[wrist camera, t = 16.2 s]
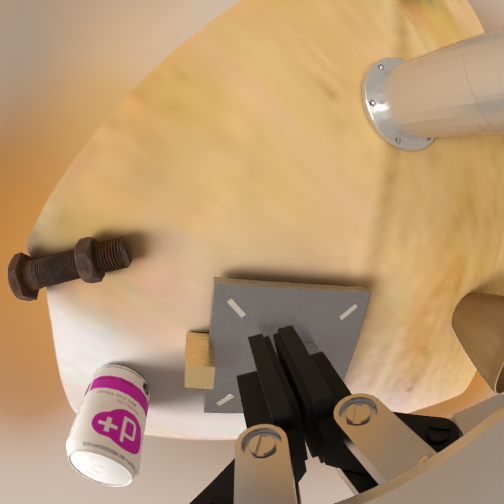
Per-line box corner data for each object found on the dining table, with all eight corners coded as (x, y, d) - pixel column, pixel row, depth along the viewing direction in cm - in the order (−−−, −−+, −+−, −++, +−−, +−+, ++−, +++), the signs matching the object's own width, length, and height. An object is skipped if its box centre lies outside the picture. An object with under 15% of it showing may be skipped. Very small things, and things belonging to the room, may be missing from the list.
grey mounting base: (190, 271, 32) (188, 296, 25) (359, 283, 35) (387, 305, 29) (185, 396, 36) (184, 431, 29) (325, 394, 40) (342, 424, 33)
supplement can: (116, 350, 33) (83, 437, 19) (162, 389, 35) (154, 479, 21) (84, 379, 33) (51, 458, 19) (128, 413, 36) (112, 494, 21)
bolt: (136, 249, 32) (35, 274, 30) (122, 215, 29) (16, 246, 26) (135, 288, 28) (25, 311, 26) (117, 254, 25) (2, 283, 22)
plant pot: (455, 268, 39) (530, 305, 23) (495, 278, 42) (554, 309, 26) (423, 351, 42) (481, 403, 27) (467, 348, 45) (518, 387, 30)
